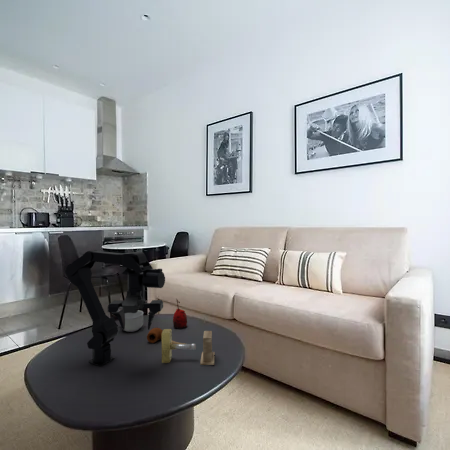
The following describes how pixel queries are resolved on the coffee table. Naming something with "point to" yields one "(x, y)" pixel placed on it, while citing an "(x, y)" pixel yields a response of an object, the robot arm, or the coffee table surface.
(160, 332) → the smoking pipe
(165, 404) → the coffee table surface
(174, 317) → the red clay folk toy
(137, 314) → the teacup
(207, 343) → the eye post
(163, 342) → the olive block with rod
